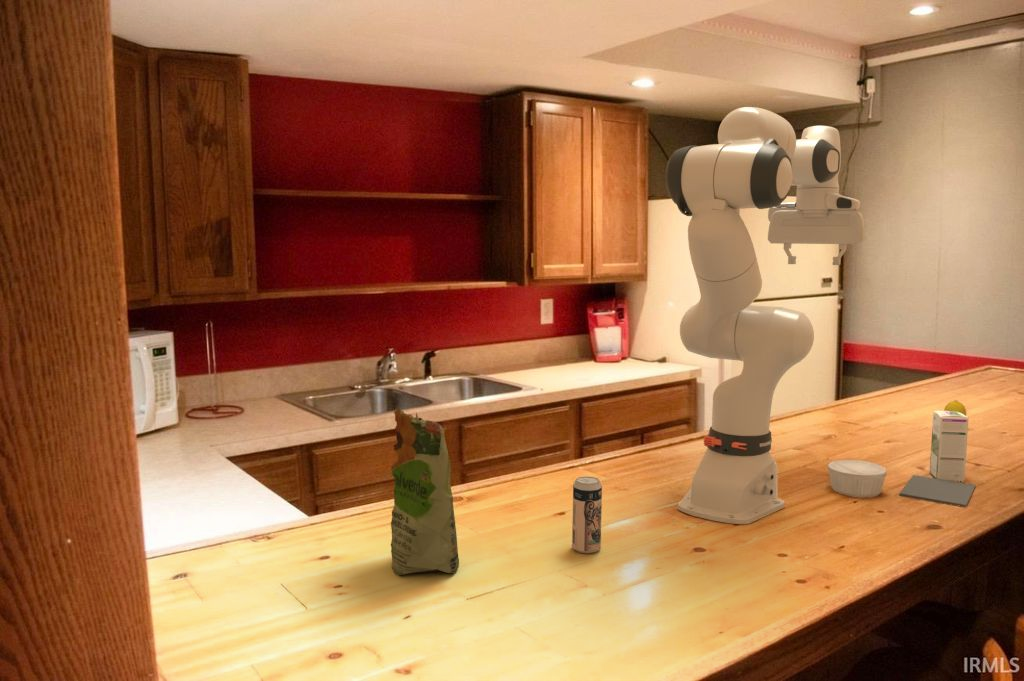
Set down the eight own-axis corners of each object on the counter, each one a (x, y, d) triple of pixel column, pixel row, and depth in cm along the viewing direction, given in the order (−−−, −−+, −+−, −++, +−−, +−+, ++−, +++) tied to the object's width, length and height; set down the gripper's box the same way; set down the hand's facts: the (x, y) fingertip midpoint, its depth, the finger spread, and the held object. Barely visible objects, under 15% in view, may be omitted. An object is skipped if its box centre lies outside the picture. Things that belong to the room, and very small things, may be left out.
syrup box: (965, 482, 173) (970, 416, 171) (935, 480, 174) (940, 415, 172) (956, 474, 178) (961, 411, 177) (927, 473, 180) (932, 409, 178)
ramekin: (817, 491, 166) (819, 466, 166) (838, 479, 174) (839, 456, 174) (873, 503, 159) (875, 478, 158) (892, 491, 167) (894, 466, 166)
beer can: (592, 557, 131) (594, 486, 129) (566, 551, 133) (568, 481, 132) (605, 547, 135) (607, 478, 133) (580, 542, 137) (581, 474, 136)
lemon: (965, 427, 224) (967, 399, 223) (964, 431, 219) (966, 403, 218) (943, 425, 227) (945, 397, 225) (941, 429, 222) (943, 400, 221)
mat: (966, 507, 157) (966, 504, 157) (899, 495, 164) (899, 493, 163) (975, 487, 170) (975, 484, 169) (912, 477, 176) (913, 474, 176)
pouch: (449, 586, 120) (449, 422, 116) (373, 579, 122) (371, 418, 118) (466, 557, 130) (467, 406, 127) (396, 551, 132) (395, 403, 129)
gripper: (766, 202, 179) (763, 264, 181) (865, 200, 170) (861, 266, 172) (771, 203, 185) (768, 263, 187) (867, 201, 176) (863, 265, 177)
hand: (813, 264), depth 179 cm, fingers open, 8 cm apart
